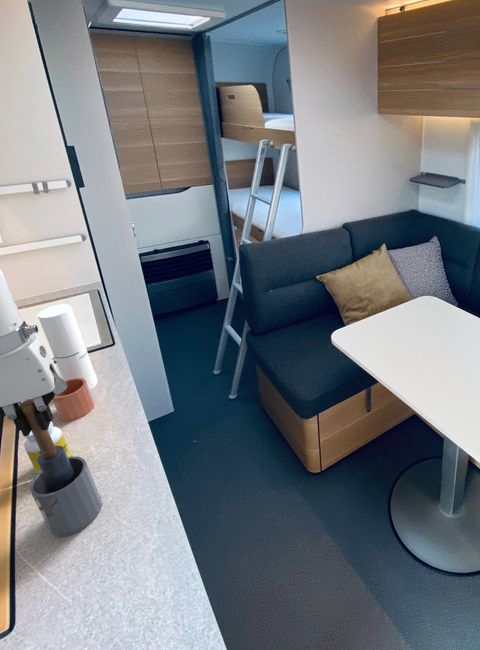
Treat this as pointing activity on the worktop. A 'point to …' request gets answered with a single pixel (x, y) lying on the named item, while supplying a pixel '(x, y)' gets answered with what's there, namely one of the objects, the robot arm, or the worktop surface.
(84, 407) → the cup
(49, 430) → the pill bottle
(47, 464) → the brush
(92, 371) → the cylindrical container
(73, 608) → the worktop surface
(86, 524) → the tumbler
